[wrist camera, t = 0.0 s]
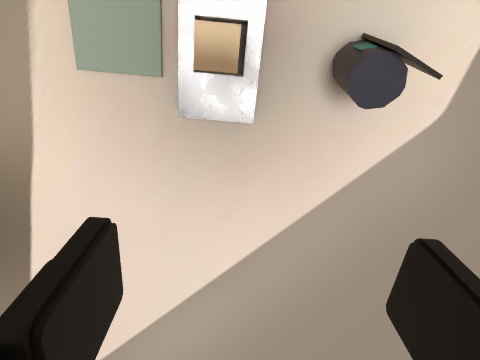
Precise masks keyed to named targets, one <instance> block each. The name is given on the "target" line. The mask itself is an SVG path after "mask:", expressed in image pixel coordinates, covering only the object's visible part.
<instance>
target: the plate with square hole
mask: <svg viewBox="0 0 480 360" xmlns="http://www.w3.org/2000/svg"><path fill="white" fill-rule="evenodd" d="M266 4H267V0H178V117H183V118H195V119H206V120H218V121H230V122H241V123H253V122H254V113H255V104H256V95H257V86H258V77H259V68H260V59H261V50H262V41H263V32H264V23H265V13H266ZM198 18H206V19H216V20H225V21H235V22H245V23H247V31H246V42H245V53H244V64H243V74H238V73H237V74H236V73H225V72H215V71H204V70H194V69H193V60H194V20H198Z"/></svg>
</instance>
